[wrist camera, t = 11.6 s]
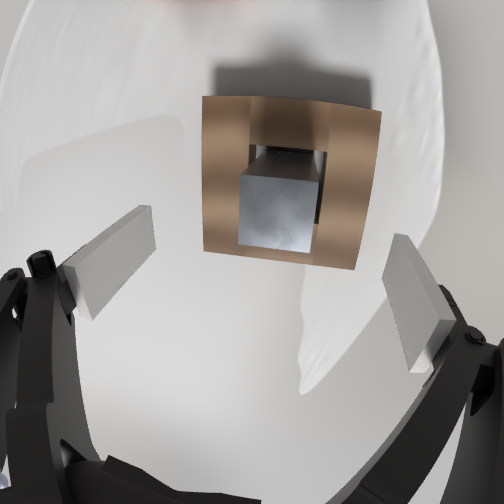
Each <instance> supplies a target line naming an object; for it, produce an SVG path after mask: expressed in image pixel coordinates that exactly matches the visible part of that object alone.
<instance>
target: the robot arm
mask: <svg viewBox="0 0 504 504" xmlns="http://www.w3.org/2000/svg"><path fill="white" fill-rule="evenodd" d="M155 250H156V246H155V238H154V230H153V222H152V211H151V206H145V205H139V206H138V207H136V208H135V209H134V210H132V211H131V212H129V213H128V214H126V215H125V216H123V217H122V218H121V219H119V220H118V221H117V222H115V223H114V224H112V225H111V226H110V227H109V228H107V229H106V230H105V231H103V232H102V233H100V234H99V235H98V236H97V237H95V238H94V239H93V240H92V241H90V242H89V243H88V244H86V245H84V246H83V247H81V248H80V249H79V250H78V251H77V252H75V253H74V254H73V255H72V256H70V257H69V258H68V259H66V260H65V261H64V262H63V263H62V264H60V266H58V267H57V268H56V265H55V262H54V258H53V255H52V252H51V251H50V250H42V251H39V252H36V253H34V254H32V255H31V256H30V257H29V258H28V259H27V264H28V267H29V270H30V273H31V276H32V277H25V274H24V272H23V269H22V268H13V269H10V270H9V271H8V272H7V273H5V274H4V275H3V277H2V278H1V280H0V504H261V500H257V499H250V498H245V497H239V496H233V495H228V494H223V493H203V492H183V491H177V490H174V489H172V488H170V487H169V486H167V485H165V484H163V483H162V482H160V481H159V480H157V479H155V478H154V477H153V476H151V475H149V474H148V473H146V472H145V471H143V470H142V469H140V468H138V467H135V466H133V465H130V464H128V463H126V462H123V461H121V460H119V459H117V458H114V457H112V456H110V455H108V457H107V459H106V461H102V460H100V458H99V455H98V454H97V452H96V450H95V449H94V447H93V444H92V441H91V438H90V434H89V429H88V425H87V420H86V415H85V410H84V405H83V399H82V393H81V386H80V378H79V370H78V361H77V351H76V338H75V319H74V315H73V312H72V311H73V309H74V308H75V307H77V309H78V311H79V314H80V316H81V317H83V318H86V319H89V320H92V321H93V320H94V318H95V317H96V316H97V315H98V314H99V312H100V311H101V310H102V309H103V308H104V307H105V305H106V304H107V303H108V302H109V301H110V300H111V298H112V297H113V296H114V295H115V294H116V293H117V292H118V290H119V289H120V288H121V287H122V286H123V285H124V284H125V282H126V281H127V280H128V279H129V278H130V277H131V276H132V275H133V274H134V272H135V271H136V270H137V269H138V268H139V267H140V266H141V265H142V264H143V263H144V262H145V261H146V259H147V258H148V257H149V256H150V255H151V254H152V253H153V252H154V251H155ZM382 280H383V283H384V286H385V289H386V292H387V295H388V298H389V301H390V305H391V308H392V311H393V314H394V317H395V321H396V324H397V328H398V331H399V335H400V338H401V342H402V346H403V350H404V354H405V358H406V362H407V366H408V370H409V372H426V370H427V369H428V367H429V365H430V364H431V363H433V367H434V371H433V372H432V374H431V375H430V377H429V378H428V379H427V381H426V382H425V384H424V385H423V389H422V390H421V392H420V393H419V395H418V396H417V398H416V399H415V401H414V402H413V404H412V405H411V407H410V408H409V410H408V411H407V412H406V414H405V415H404V417H403V418H402V419H401V421H400V422H399V424H398V425H397V426H396V428H395V429H394V430H393V431H392V433H391V434H390V435H389V437H388V438H387V439H386V440H385V442H384V443H383V444H382V445H381V447H380V448H379V449H378V450H377V451H376V452H375V454H374V455H373V456H372V457H371V458H370V460H369V461H368V462H367V463H366V464H365V465H364V466H363V467H362V468H361V469H360V471H359V472H358V473H357V474H356V475H355V476H354V477H353V478H352V479H351V480H350V481H349V482H348V483H347V484H346V485H345V486H344V487H343V488H342V489H341V490H340V491H339V492H338V493H337V494H336V495H335V496H334V497H333V498H331V499H330V500H329V501H328V502H327V503H326V504H408V502H409V501H410V499H411V498H412V497H413V495H414V494H415V493H416V491H417V490H418V488H419V487H420V486H421V484H422V483H423V481H424V480H425V478H426V476H427V475H428V473H429V472H430V470H431V469H432V467H433V466H434V464H435V462H436V461H437V459H438V457H439V455H440V453H441V452H442V450H443V448H444V446H445V445H446V443H447V441H448V439H449V437H450V435H451V433H452V431H453V429H454V427H455V425H456V423H457V421H458V419H459V417H460V415H461V412H462V410H463V408H464V406H465V403H466V407H465V413H464V419H463V424H462V430H461V434H460V439H459V443H458V447H457V451H456V455H455V459H454V463H453V466H452V470H451V473H450V476H449V479H448V483H447V485H446V488H445V491H444V494H443V496H442V499H441V502H440V504H504V338H503V339H502V340H501V342H500V344H499V345H498V346H495V345H492V344H489V343H486V339H485V337H484V335H483V334H482V333H481V332H480V331H479V330H478V329H477V328H475V327H473V326H468V325H467V323H466V321H465V319H464V317H463V315H462V313H461V312H460V310H459V308H458V307H457V304H456V302H455V301H454V299H453V297H452V295H451V294H450V292H449V291H448V290H447V289H446V288H445V287H444V286H443V285H438V284H437V282H436V281H435V279H434V277H433V275H432V274H431V272H430V271H429V269H428V267H427V265H426V264H425V262H424V260H423V259H422V257H421V255H420V254H419V252H418V251H417V249H416V247H415V246H414V244H413V243H412V241H411V240H410V238H409V237H408V235H403V234H397V233H395V234H394V238H393V241H392V245H391V249H390V252H389V256H388V259H387V263H386V266H385V269H384V273H383V276H382ZM13 308H14V310H15V312H16V314H17V316H16V318H14V317H13V314H12V309H13ZM15 404H16V408H15ZM6 455H7V457H8V466H9V474H10V481H11V486H10V487H8V480H7V478H6V477H5V475H3V474H2V473H1V472H2V469H3V466H4V463H5V459H6Z"/></svg>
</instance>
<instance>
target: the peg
mask: <svg viewBox="0 0 504 504" xmlns="http://www.w3.org/2000/svg"><path fill="white" fill-rule="evenodd" d="M318 187H319V180H318V174H317V168H316V162H315V157H314V155H310V154H301V153H292V152H282V151H270V150H265V151H264V152H263V153H262V154H261V155H260V156H259V157H258V158H257V159H256V160H255V161H254V162H253V163H252V164H251V165H250V166H249V167H248V168H246V169H245V170H244V171H243V172H242V173H241V174H240V198H239V236H238V244H240V245H248V246H256V247H264V248H273V249H281V250H289V251H297V252H305V253H310V246H311V239H312V232H313V225H314V218H315V211H316V203H317V195H318Z"/></svg>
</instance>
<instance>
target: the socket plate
mask: <svg viewBox="0 0 504 504" xmlns="http://www.w3.org/2000/svg"><path fill="white" fill-rule="evenodd" d="M381 113H382V112H381V111H377V110H372V109H366V108H361V107H355V106H349V105H343V104H337V103H330V102H322V101H314V100H304V99H294V98H281V97H263V96H203V98H202V212H203V213H202V214H203V243H204V244H203V245H204V251H206V252H214V253H222V254H229V255H238V256H245V257H253V258H261V259H269V260H277V261H285V262H292V263H300V264H308V265H317V266H325V267H333V268H341V269H349V270H354V269H355V265H356V261H357V257H358V253H359V249H360V244H361V240H362V235H363V231H364V226H365V221H366V216H367V211H368V206H369V200H370V195H371V189H372V183H373V177H374V170H375V164H376V157H377V149H378V141H379V133H380V124H381ZM256 145H267V146H279V147H290V148H299V149H308V150H317V151H324V159H323V169H322V178H321V186H320V194H319V202H318V210H316V211H315V218H314V225H313V232H312V239H311V246H310V253H305V252H297V251H289V250H281V249H273V248H264V247H256V246H248V245H240V244H238V236H239V198H240V174H241V173H242V172H243V171H244V170H245V169H246V168H248V167H249V166H250V165H251V164H252V163H253V162H254V161H255V160H256Z"/></svg>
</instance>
